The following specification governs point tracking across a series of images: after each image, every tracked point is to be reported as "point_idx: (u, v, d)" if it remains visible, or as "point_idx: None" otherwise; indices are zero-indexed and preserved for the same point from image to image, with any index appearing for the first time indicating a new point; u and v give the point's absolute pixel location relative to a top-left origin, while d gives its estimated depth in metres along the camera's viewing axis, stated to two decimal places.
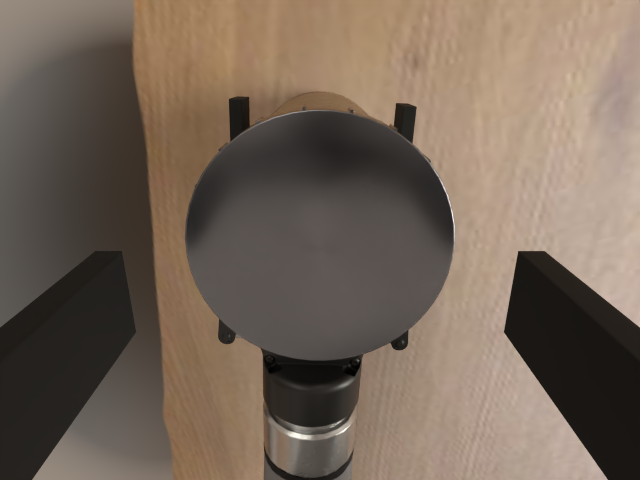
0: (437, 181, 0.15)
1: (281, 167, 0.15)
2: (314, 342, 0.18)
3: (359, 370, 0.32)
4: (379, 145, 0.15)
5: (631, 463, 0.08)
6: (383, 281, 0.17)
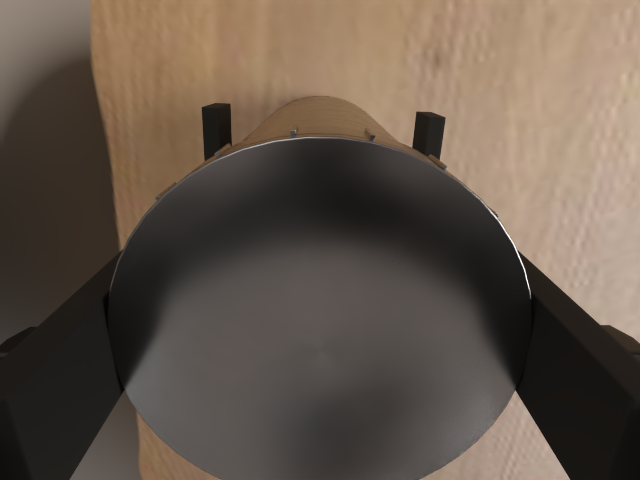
0: (510, 250, 0.09)
1: (257, 228, 0.09)
2: (311, 477, 0.12)
3: None
4: (418, 194, 0.09)
5: (576, 443, 0.08)
6: (417, 395, 0.11)
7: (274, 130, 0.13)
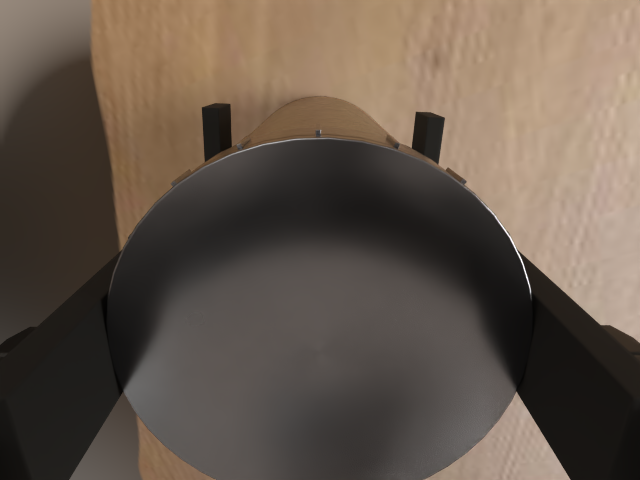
0: (144, 226, 0.09)
1: (220, 425, 0.11)
2: (493, 314, 0.10)
3: None
4: (134, 324, 0.10)
5: (577, 443, 0.08)
6: (344, 244, 0.09)
7: (274, 130, 0.13)
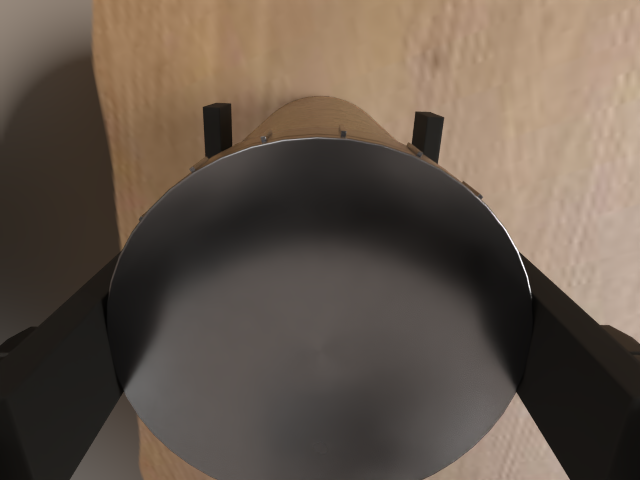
0: None
1: (434, 410, 0.11)
2: (214, 212, 0.09)
3: None
4: None
5: (576, 442, 0.08)
6: (204, 362, 0.10)
7: (275, 129, 0.13)
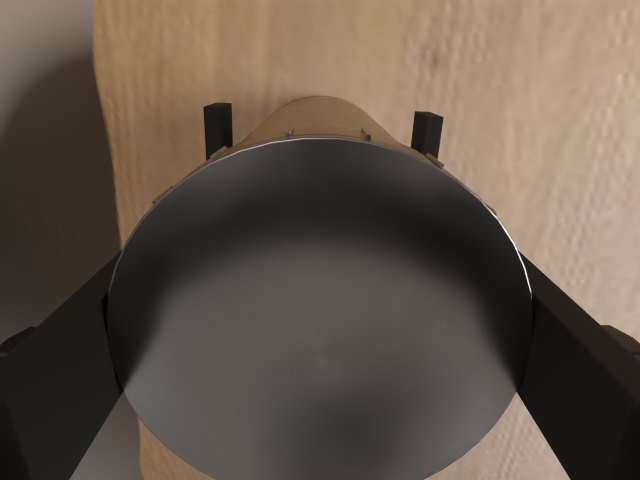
0: (521, 366, 0.10)
1: (356, 221, 0.09)
2: (219, 452, 0.11)
3: None
4: (496, 282, 0.10)
5: (576, 443, 0.08)
6: (364, 434, 0.11)
7: (275, 129, 0.13)
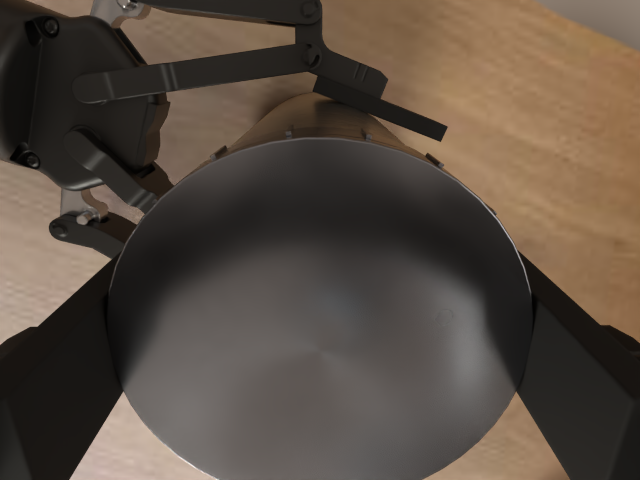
0: (521, 365, 0.10)
1: (356, 221, 0.09)
2: (219, 452, 0.11)
3: (17, 164, 0.21)
4: (496, 281, 0.10)
5: (577, 443, 0.08)
6: (364, 433, 0.11)
7: None
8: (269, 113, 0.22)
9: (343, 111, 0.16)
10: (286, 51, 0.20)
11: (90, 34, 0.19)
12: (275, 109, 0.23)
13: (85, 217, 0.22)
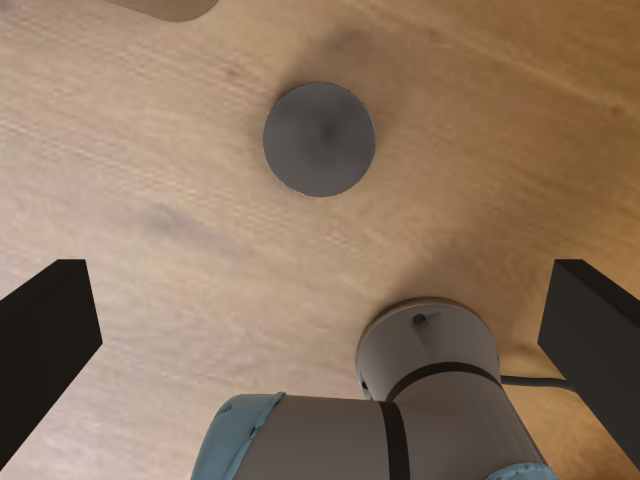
0: (373, 147, 0.39)
1: (328, 104, 0.38)
2: (290, 177, 0.40)
3: None
4: (364, 121, 0.38)
5: None
6: (332, 171, 0.40)
7: None
8: None
9: None
10: None
11: None
12: None
13: None
